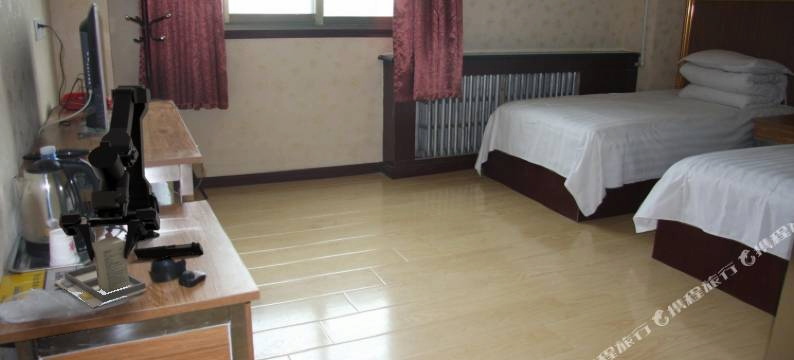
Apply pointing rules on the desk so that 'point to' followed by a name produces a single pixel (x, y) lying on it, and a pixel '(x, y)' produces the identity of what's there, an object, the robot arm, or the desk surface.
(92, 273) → the divided tray
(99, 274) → the skincare box
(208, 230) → the desk surface
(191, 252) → the electric trimmer
